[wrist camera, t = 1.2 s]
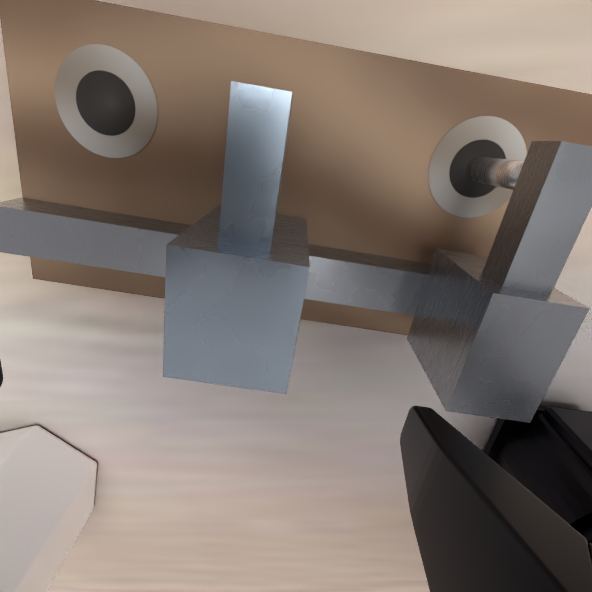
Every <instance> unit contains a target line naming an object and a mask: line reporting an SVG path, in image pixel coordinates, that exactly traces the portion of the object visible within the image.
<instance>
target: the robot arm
mask: <svg viewBox="0 0 592 592" xmlns="http://www.w3.org/2000/svg"><path fill="white" fill-rule="evenodd" d="M2 382H3V373H2V367H1V361H0V387H1V385H2ZM400 445H401V453H402V459H403V466H404V473H405V480H406V487H407V494H408V501H409V507H410V513H411V517H412V521H413V526H414V530H415V534H416V538H417V542H418V546H419V550H420V553H421V557H422V561H423V565H424V569H425V573H426V577H427V581H428V585H429V589H430V592H592V414H591V413H589V412H584V411H577V410H570V409H563V408H556V407H542V406H539V407H538V408H537V410H536V412H535V414H534V416H533V418H532V420H531V422H530V423H528V422H521V421H514V420H507V419H499V421H498V423H497V425H496V428H495V430H494V432H493V434H492V436H491V438H490V440H489V442H488V444H487V446H486V448H485V451H484V452H483V451H481V450H480V449H479V448H478V447H477V446H475V445H474V444H473V443H472V442H471V441H469V440H468V439H467V438H466V437H465V436H464V435H462V434H461V433H460V432H459V431H458V430H456V429H455V428H454V427H453V426H452V425H450V424H449V423H448V422H447V421H446V420H445V419H443V418H442V417H441V416H440V415H439V414H437V413H436V412H435V411H434V410H433V409H431V408H427V407H420V406H413V407H411V409H410V410H409V413H408V416H407V418H406V421H405V424H404V427H403V430H402V433H401V437H400Z"/></svg>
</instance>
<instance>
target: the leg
mask: <svg viewBox="0 0 592 592" xmlns="http://www.w3.org/2000/svg"><path fill="white" fill-rule="evenodd" d="M292 104H293V94H292V92H290V91H284V90H279V89H273V88H268V87H262V86H257V85H251V84H246V83H240V82H235V81H231V89H230V102H229V114H228V126H227V139H226V151H225V164H224V176H223V189H222V201H221V205H218V206H217V207H215V208H214V209H213V210H211V211H210V212H209V213H207V214H206V215H205V216H203V217H202V218H201V219H199V220H198V221H197V222H195V223H194V224H193V225H191V226H190V227H189V228H187V229H186V230H185V231H183V232H182V233H181V234H179V235H178V236H177V237H176V238H174V239H173V240H172V241H170V242H169V243H168V244H166V275H165V316H164V358H163V377H169V378H176V379H183V380H190V381H197V382H204V383H212V384H219V385H226V386H233V387H240V388H247V389H254V390H261V391H268V392H276V393H283V394H286V393H287V388H288V382H289V377H290V371H291V366H292V361H293V355H294V350H295V344H296V339H297V334H298V328H299V323H300V317H301V312H302V307H303V301H304V296H305V290H306V285H307V279H308V274H309V269H310V263H309V248H308V234H307V219H303V218H297V217H291V216H285V215H279V214H277V211H278V204H279V197H280V189H281V182H282V175H283V168H284V161H285V154H286V147H287V139H288V132H289V125H290V118H291V111H292Z"/></svg>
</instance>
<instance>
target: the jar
mask: <svg viewBox="0 0 592 592" xmlns="http://www.w3.org/2000/svg"><path fill="white" fill-rule="evenodd" d="M96 472H97V463H96V462H95V461H94V460H92V459H91V458H89V457H87V456H86V455H84V454H83V453H81V452H80V451H78V450H76V449H75V448H73V447H72V446H70V445H68V444H67V443H65V442H64V441H62V440H61V439H59V438H57V437H56V436H54V435H53V434H51V433H49V432H48V431H46V430H45V429H43V428H42V427H40V426H38V425H35V426H30V427H26V428H21V429H17V430H12V431H8V432H3V433H0V592H47V590H48V588H49V586H50V584H51V583H52V581H53V579H54V577H55V576H56V574H57V572H58V570H59V569H60V567H61V565H62V563H63V562H64V560H65V558H66V556H67V555H68V553H69V551H70V549H71V547H72V546H73V544H74V542H75V540H76V539H77V537H78V535H79V533H80V532H81V530H82V528H83V526H84V525H85V523H86V521H87V519H88V518H89V516H90V514H91V512H92V510H93V508H94V497H95V484H96Z"/></svg>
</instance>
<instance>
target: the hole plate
mask: <svg viewBox="0 0 592 592" xmlns="http://www.w3.org/2000/svg"><path fill="white" fill-rule="evenodd" d="M0 19H1V27H2V35H3V43H4V51H5V59H6V67H7V75H8V83H9V91H10V99H11V107H12V115H13V123H14V131H15V139H16V147H17V155H18V163H19V171H20V179H21V187H22V195H23V198H28V199H34V200H40V201H46V202H53V203H59V204H65V205H71V206H77V207H84V208H90V209H96V210H102V211H108V212H115V213H121V214H127V215H133V216H139V217H145V218H152V219H158V220H164V221H170V222H176V223H183V224H189V225H193V224H194V223H195V222H197V221H198V220H199V219H201V218H202V217H203V216H205V215H206V214H207V213H209V212H210V211H211V210H213V209H214V208H215V207H217V206H218V205H221V201H222V189H223V176H224V164H225V151H226V139H227V126H228V114H229V102H230V89H231V81H235V82H240V83H246V84H251V85H257V86H262V87H268V88H273V89H279V90H284V91H290V92H292V94H293V104H292V111H291V118H290V125H289V132H288V139H287V147H286V154H285V161H284V168H283V175H282V182H281V189H280V197H279V204H278V211H277V214H279V215H285V216H291V217H297V218H303V219H307V234H308V244H313V245H319V246H325V247H331V248H337V249H344V250H350V251H356V252H362V253H368V254H374V255H381V256H387V257H393V258H399V259H405V260H412V261H418V262H424V263H430V264H431V262H432V258H433V255H434V252H435V249H436V248H438V249H444V250H451V251H457V252H463V253H469V254H475V255H481V256H487V257H488V256H489V253H490V250H491V248H492V245H493V242H494V240H495V237H496V234H497V232H498V229H499V227H500V224H501V221H502V219H503V216H504V213H505V211H506V208H507V205H508V203H509V200H510V198H511V195H512V192H513V190H511V189H506V188H502V187H497V186H493V185H488V184H484V183H479V182H475V181H472V180H470V179H469V178H468V177H467V174H466V170H467V166H468V164H469V163H470V162H471V161H472V160H473V159H475V158H478V157H484V158H497V159H509V160H522V161H525V158H526V155H527V153H528V150H529V147H530V145H531V142H532V141H564V142H570V143H575V144H581V145H586V146H592V95H591V94H586V93H581V92H575V91H570V90H565V89H560V88H554V87H549V86H544V85H538V84H533V83H528V82H523V81H517V80H512V79H507V78H501V77H496V76H491V75H486V74H480V73H475V72H470V71H464V70H459V69H454V68H449V67H443V66H438V65H433V64H428V63H422V62H417V61H412V60H406V59H401V58H396V57H391V56H385V55H380V54H375V53H369V52H364V51H359V50H354V49H348V48H343V47H338V46H332V45H327V44H322V43H317V42H311V41H306V40H301V39H295V38H290V37H285V36H280V35H274V34H269V33H264V32H258V31H253V30H248V29H243V28H237V27H232V26H227V25H222V24H216V23H211V22H206V21H200V20H195V19H190V18H185V17H179V16H174V15H169V14H163V13H158V12H153V11H148V10H142V9H137V8H132V7H126V6H121V5H116V4H111V3H105V2H100V1H95V0H0ZM30 259H31V267H32V275H33V279H39V280H46V281H52V282H59V283H66V284H72V285H79V286H86V287H92V288H99V289H105V290H112V291H119V292H125V293H132V294H139V295H145V296H152V297H158V298H165V277H160V276H153V275H147V274H140V273H134V272H127V271H121V270H114V269H108V268H101V267H95V266H88V265H82V264H75V263H69V262H62V261H56V260H49V259H43V258H36V257H30ZM413 318H414V316H413V315H407V314H400V313H394V312H387V311H381V310H374V309H368V308H361V307H355V306H348V305H342V304H335V303H329V302H322V301H316V300H309V299H304V301H303V307H302V312H301V317H300V319H304V320H311V321H317V322H324V323H330V324H337V325H344V326H350V327H357V328H364V329H370V330H377V331H383V332H390V333H397V334H403V335H408V334H409V331H410V327H411V324H412V321H413Z"/></svg>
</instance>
